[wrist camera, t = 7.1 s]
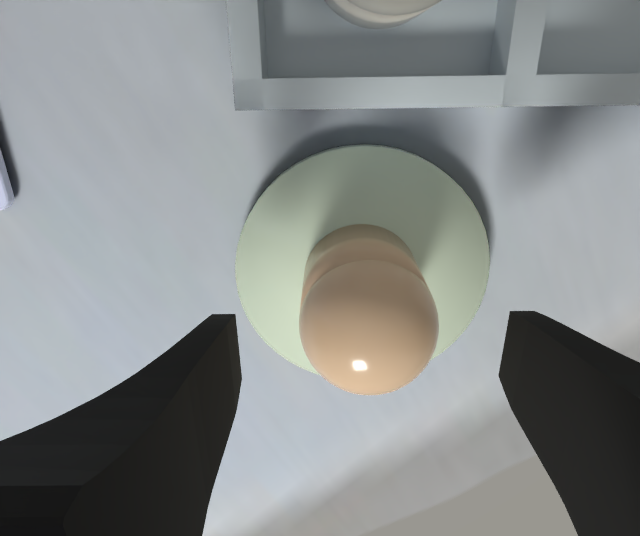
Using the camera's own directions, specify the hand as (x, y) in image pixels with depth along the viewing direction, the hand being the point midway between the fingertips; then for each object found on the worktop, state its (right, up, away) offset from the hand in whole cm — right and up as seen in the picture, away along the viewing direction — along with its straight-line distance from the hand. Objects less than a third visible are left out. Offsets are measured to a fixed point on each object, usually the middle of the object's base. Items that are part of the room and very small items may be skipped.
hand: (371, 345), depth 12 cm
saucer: (0, +2, +5) cm, 5 cm away
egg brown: (0, +2, +4) cm, 4 cm away
